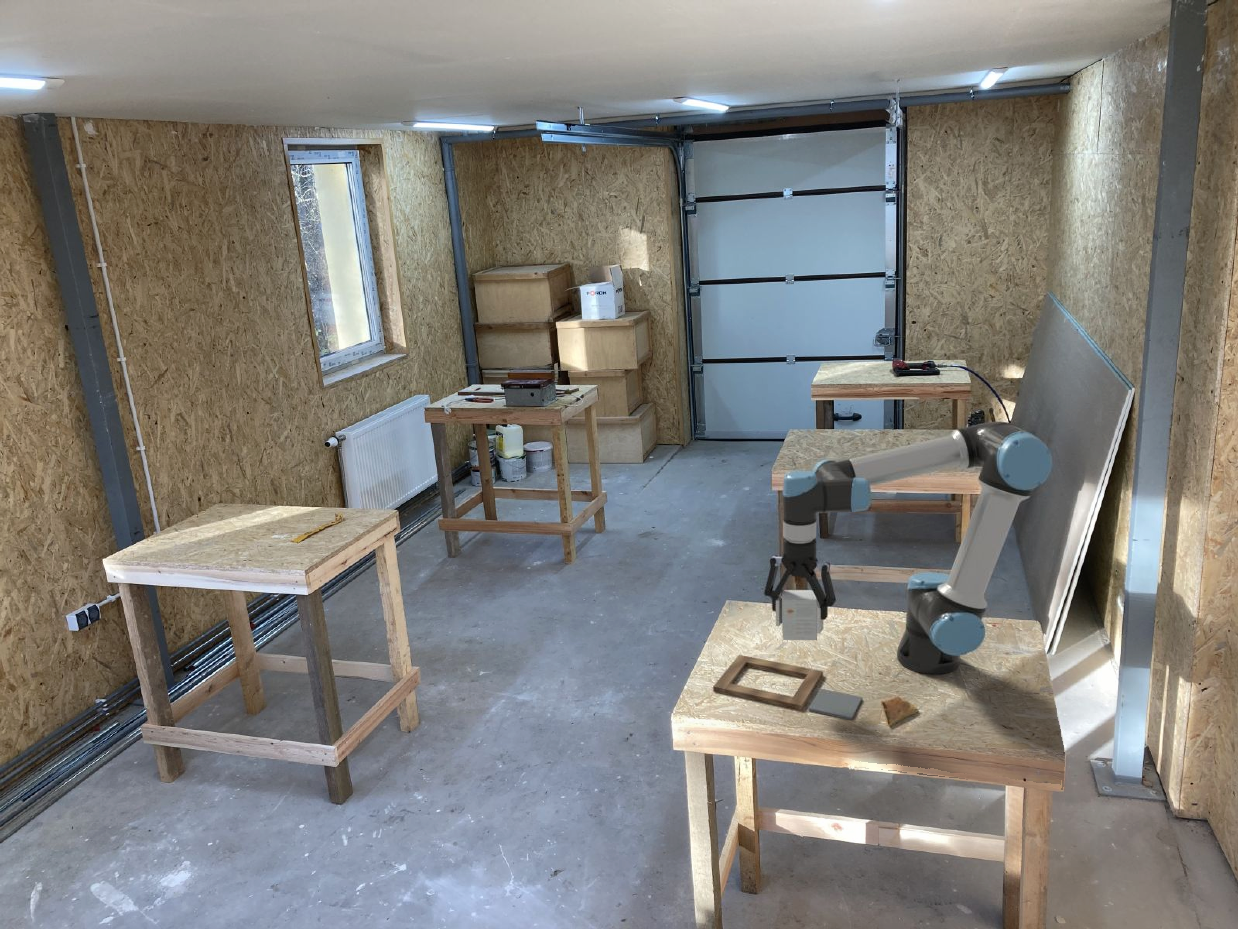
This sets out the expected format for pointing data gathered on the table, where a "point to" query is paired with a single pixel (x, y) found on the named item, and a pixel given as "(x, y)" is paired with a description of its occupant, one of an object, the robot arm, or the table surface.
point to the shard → (897, 710)
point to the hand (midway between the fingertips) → (799, 627)
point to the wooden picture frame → (794, 702)
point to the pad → (835, 704)
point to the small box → (799, 615)
